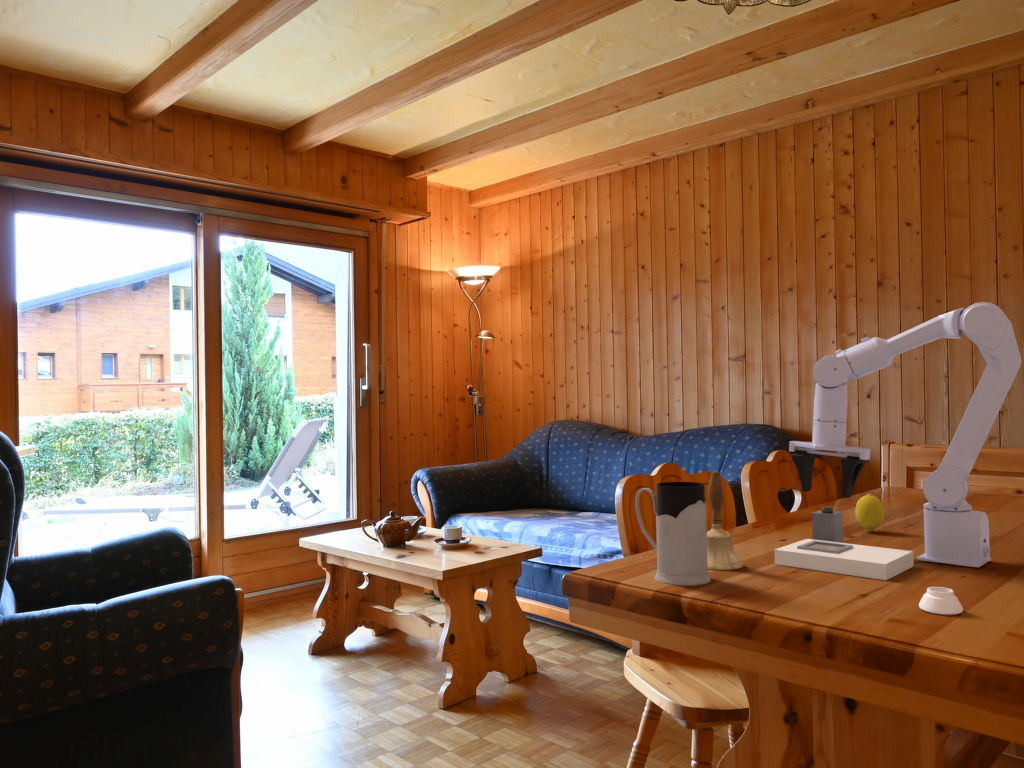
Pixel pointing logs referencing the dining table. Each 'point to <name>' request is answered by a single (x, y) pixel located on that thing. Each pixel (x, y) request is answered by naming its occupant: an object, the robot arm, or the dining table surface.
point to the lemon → (869, 512)
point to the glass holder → (679, 532)
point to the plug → (827, 525)
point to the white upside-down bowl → (940, 601)
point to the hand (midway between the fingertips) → (826, 494)
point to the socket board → (845, 558)
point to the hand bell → (719, 532)
